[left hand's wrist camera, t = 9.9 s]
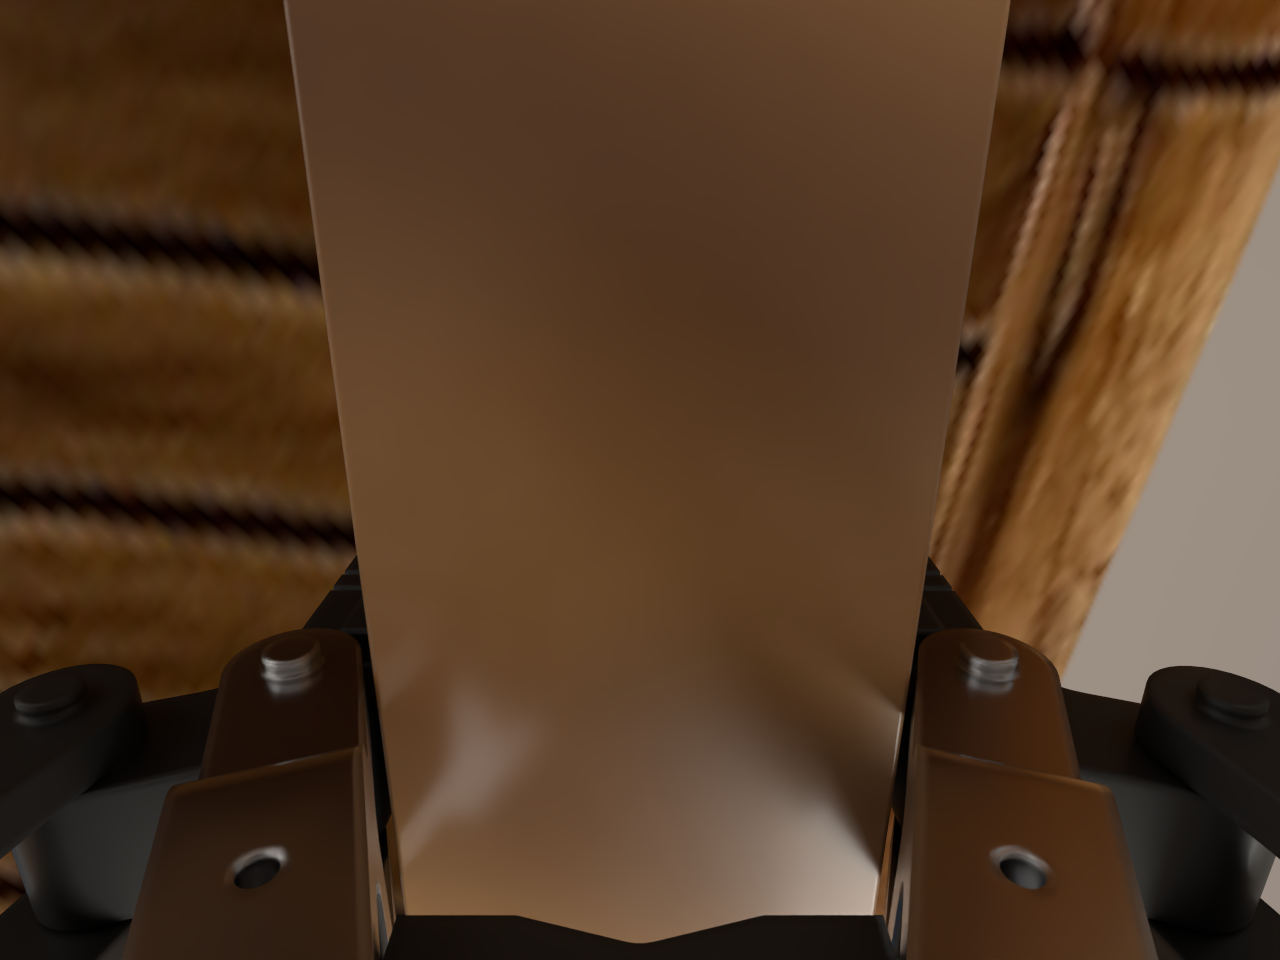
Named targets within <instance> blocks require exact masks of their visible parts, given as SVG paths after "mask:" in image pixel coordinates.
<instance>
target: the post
mask: <svg viewBox="0 0 1280 960" xmlns="http://www.w3.org/2000/svg"><path fill="white" fill-rule="evenodd" d="M1010 1H1011V0H283V4H284V11H285V19H286V26H287V34H288V41H289V49H290V56H291V64H292V71H293V79H294V86H295V94H296V101H297V108H298V116H299V123H300V131H301V138H302V146H303V153H304V161H305V168H306V176H307V183H308V191H309V198H310V206H311V213H312V221H313V228H314V236H315V243H316V251H317V258H318V266H319V273H320V281H321V288H322V295H323V303H324V310H325V318H326V325H327V333H328V340H329V348H330V355H331V363H332V370H333V378H334V385H335V393H336V400H337V408H338V415H339V423H340V430H341V438H342V445H343V453H344V460H345V468H346V475H347V483H348V490H349V497H350V505H351V512H352V520H353V527H354V535H355V542H356V550H357V557H358V565H359V572H360V580H361V587H362V595H363V602H364V610H365V617H366V625H367V632H368V640H369V647H370V655H371V662H372V670H373V677H374V685H375V692H376V699H377V707H378V714H379V722H380V729H381V737H382V744H383V752H384V759H385V767H386V774H387V782H388V789H389V797H390V804H391V812H392V819H393V827H394V834H395V842H396V849H397V857H398V864H399V872H400V879H401V887H402V894H403V901H404V909H405V915H518V916H522V917H526V918H530V919H534V920H539V921H543V922H547V923H551V924H555V925H559V926H563V927H568V928H572V929H576V930H580V931H584V932H588V933H592V934H597V935H601V936H605V937H609V938H613V939H617V940H621V941H626V942H631V943H649V942H654V941H659V940H663V939H667V938H671V937H675V936H679V935H683V934H688V933H692V932H696V931H700V930H704V929H708V928H712V927H717V926H721V925H725V924H729V923H733V922H737V921H741V920H746V919H750V918H754V917H758V916H762V915H875V911H876V904H877V897H878V890H879V884H880V877H881V870H882V863H883V857H884V850H885V843H886V837H887V830H888V823H889V816H890V810H891V803H892V796H893V789H894V783H895V776H896V769H897V762H898V756H899V749H900V742H901V735H902V729H903V722H904V715H905V709H906V702H907V695H908V688H909V682H910V675H911V668H912V661H913V655H914V648H915V641H916V634H917V628H918V621H919V614H920V608H921V601H922V594H923V587H924V581H925V574H926V567H927V560H928V554H929V547H930V540H931V533H932V527H933V520H934V513H935V506H936V500H937V493H938V486H939V480H940V473H941V466H942V459H943V453H944V446H945V439H946V432H947V426H948V419H949V412H950V405H951V399H952V392H953V385H954V378H955V372H956V365H957V358H958V352H959V345H960V338H961V331H962V325H963V318H964V311H965V304H966V298H967V291H968V284H969V277H970V271H971V264H972V257H973V251H974V244H975V237H976V230H977V224H978V217H979V210H980V203H981V197H982V190H983V183H984V176H985V170H986V163H987V156H988V149H989V143H990V136H991V129H992V123H993V116H994V109H995V102H996V96H997V89H998V82H999V75H1000V69H1001V62H1002V55H1003V48H1004V42H1005V35H1006V28H1007V21H1008V15H1009V8H1010Z"/></svg>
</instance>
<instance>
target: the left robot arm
mask: <svg viewBox="0 0 1280 960" xmlns="http://www.w3.org/2000/svg"><path fill="white" fill-rule="evenodd" d="M951 588H952V587H951V586H950V584H949V583H948V582H947V580H946V579H945V578H944V576H943V575H940V571H939V570H938V568H937V567H936V566H935V564H934V563H933V562H932V560H931V559H930V558H929V556H928V560H927V567H926V574H925V581H924V587H923V594H922V601H921V608H920V614H919V621H918V628H917V634H916V641H915V648H914V655H913V661H912V668H911V675H910V682H909V688H908V695H907V702H906V709H905V715H904V722H903V729H902V735H901V742H900V749H899V756H898V762H897V769H896V776H895V783H894V789H893V796H892V803H891V806H892V809H893V811H894V814H895V816H894V823H893V830H892V837H891V844H890V854H889V866H888V877H887V889H886V901H885V912H884V917H883V915H762V916H758V917H754V918H750V919H746V920H741V921H737V922H733V923H729V924H725V925H721V926H717V927H712V928H708V929H704V930H700V931H696V932H692V933H688V934H683V935H679V936H675V937H671V938H667V939H663V940H659V941H654V942H649V943H631V942H626V941H621V940H617V939H613V938H609V937H605V936H601V935H597V934H592V933H588V932H584V931H580V930H576V929H572V928H568V927H563V926H559V925H555V924H551V923H547V922H543V921H539V920H534V919H530V918H526V917H522V916H518V915H397V917H396V912H395V901H394V889H393V877H392V866H391V854H390V844H389V837H388V830H387V823H388V821H389V818H390V815H391V813H392V812H391V804H390V797H389V789H388V782H387V774H386V767H385V759H384V752H383V744H382V737H381V729H380V722H379V714H378V707H377V699H376V692H375V685H374V677H373V670H372V662H371V655H370V647H369V640H368V632H367V625H366V617H365V610H364V602H363V595H362V587H361V580H360V572H359V565H358V557H357V555H356V557H355V558H354V559H353V561H352V562H351V564H350V565H349V566H348V568H347V569H346V570H345V575H342V576H341V577H340V578H339V580H338V581H337V582H336V584H335V585H334V590H331V591H330V592H329V593H328V595H327V596H326V597H325V599H324V600H323V601H322V603H321V604H320V605H319V607H318V608H317V610H316V611H315V612H314V614H313V615H312V616H311V618H310V619H309V620H308V622H307V623H306V624H305V626H304V627H303V628H302V629H301V630H294V631H289V632H284V633H281V634H277V635H274V636H271V637H268V638H266V639H263V640H261V641H259V642H257V643H254V644H252V645H251V646H249V647H247V648H246V649H244V650H242V651H241V652H240V653H238V654H237V655H236V656H234V657H233V658H232V659H231V660H230V661H229V662H228V664H227V665H226V667H225V668H224V670H223V672H222V675H221V679H220V683H219V688H217V689H213V690H208V691H204V692H199V693H193V694H188V695H183V696H177V697H172V698H166V699H161V700H156V701H150V702H145V703H142V699H141V695H140V692H139V688H138V684H137V681H136V678H135V676H134V674H133V673H132V672H130V671H129V670H127V669H125V668H123V667H120V666H116V665H109V664H88V665H79V666H73V667H67V668H63V669H59V670H55V671H51V672H48V673H45V674H42V675H39V676H36V677H34V678H31V679H28V680H26V681H23V682H21V683H19V684H17V685H15V686H13V687H11V688H9V689H7V690H5V691H4V692H2V693H0V859H1V858H2V857H3V856H5V855H6V854H7V853H8V852H10V851H12V854H13V856H14V859H15V862H16V865H17V867H18V870H19V873H20V876H21V878H22V881H23V884H24V886H25V889H26V893H25V894H24V895H23V896H21V897H20V898H19V899H18V900H17V901H16V902H14V903H13V904H12V905H11V906H10V907H9V908H8V909H6V910H5V911H4V912H3V913H2V914H1V915H0V960H1280V915H1279V914H1278V913H1277V912H1276V911H1275V910H1274V909H1272V908H1271V907H1270V906H1269V905H1268V904H1267V903H1265V902H1264V901H1263V900H1262V899H1261V898H1260V897H1261V894H1262V892H1263V889H1264V886H1265V883H1266V881H1267V878H1268V876H1269V873H1270V870H1271V867H1272V865H1273V862H1274V859H1275V857H1276V856H1277V857H1278V858H1279V859H1280V693H1278V692H1276V691H1274V690H1273V689H1270V688H1268V687H1266V686H1264V685H1262V684H1260V683H1257V682H1255V681H1252V680H1250V679H1247V678H1244V677H1241V676H1238V675H1235V674H1232V673H1228V672H1224V671H1220V670H1216V669H1210V668H1204V667H1195V666H1174V667H1167V668H1163V669H1160V670H1158V671H1156V672H1154V673H1153V674H1152V675H1150V676H1149V678H1148V680H1147V683H1146V687H1145V690H1144V694H1143V698H1142V701H1141V703H1135V702H1130V701H1124V700H1119V699H1114V698H1108V697H1103V696H1097V695H1092V694H1087V693H1082V692H1078V691H1073V690H1069V689H1066V688H1063V687H1061V683H1060V679H1059V675H1058V672H1057V670H1056V668H1055V667H1054V665H1053V664H1052V662H1051V661H1050V660H1049V659H1048V658H1047V657H1046V656H1044V655H1043V654H1042V653H1040V652H1039V651H1038V650H1036V649H1034V648H1033V647H1031V646H1029V645H1028V644H1026V643H1023V642H1021V641H1019V640H1017V639H1014V638H1012V637H1009V636H1006V635H1003V634H999V633H996V632H991V631H986V630H983V628H982V627H981V626H980V624H979V623H978V622H977V620H976V619H975V618H974V616H973V615H972V614H971V612H970V611H969V610H968V608H967V607H966V606H965V604H964V603H963V602H962V600H961V599H960V598H959V596H958V595H957V594H956V592H955V591H952V589H951Z"/></svg>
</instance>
